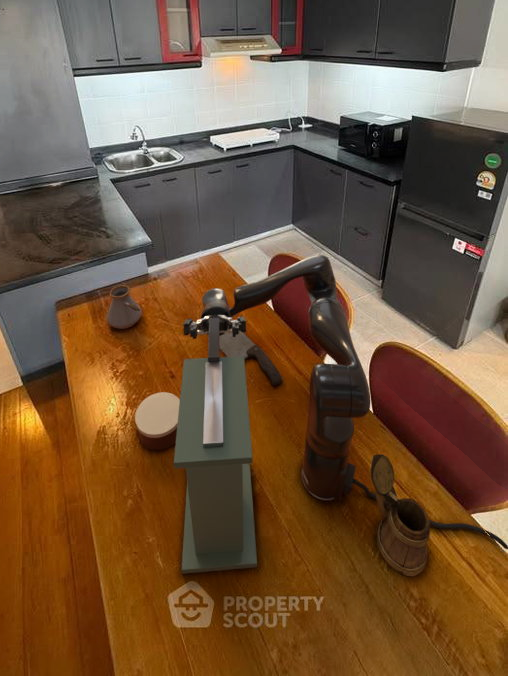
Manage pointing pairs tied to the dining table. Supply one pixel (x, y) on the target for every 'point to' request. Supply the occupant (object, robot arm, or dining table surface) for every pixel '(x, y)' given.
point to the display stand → (216, 473)
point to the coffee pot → (122, 308)
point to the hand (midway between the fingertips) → (214, 333)
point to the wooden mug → (399, 523)
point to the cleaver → (249, 353)
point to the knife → (213, 390)
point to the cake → (158, 420)
